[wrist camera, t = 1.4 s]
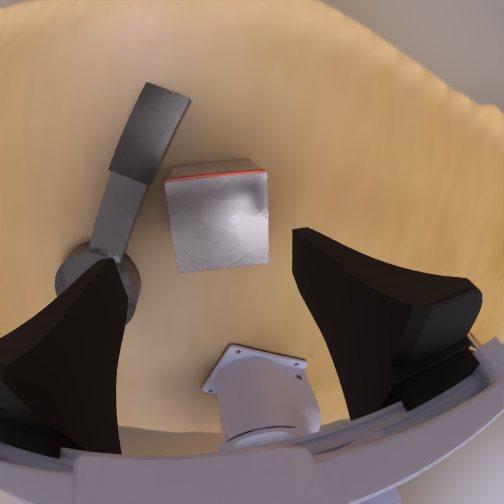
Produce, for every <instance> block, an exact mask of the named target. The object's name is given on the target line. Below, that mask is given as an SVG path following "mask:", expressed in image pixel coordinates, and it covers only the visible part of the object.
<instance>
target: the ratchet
mask: <svg viewBox="0 0 504 504" xmlns="http://www.w3.org/2000/svg"><path fill="white" fill-rule="evenodd" d="M190 103H191V100H190V99H189V98H187V97H184V96H182V95H179V94H177V93H174V92H172V91H169V90H167V89H164V88H161V87H159V86H156V85H153V84H151V83H148V82H146V84H145V86H144V88H143V90H142V92H141V94H140V96H139V98H138V100H137V102H136V104H135V106H134V109H133V111H132V113H131V115H130V117H129V120H128V122H127V124H126V126H125V129H124V131H123V133H122V136H121V138H120V141H119V143H118V146H117V148H116V151H115V153H114V156H113V159H112V162H111V164H110V167H109V170H110V171H112V172H111V175H110V178H109V181H108V183H107V186H106V190H105V193H104V196H103V199H102V202H101V206H100V209H99V212H98V216H97V219H96V223H95V227H94V231H93V234H92V238H91V242H86V243H84V244H81V245H79V246H78V247H76V248H75V249H74V250H73V251H72V253H71V254H70V255H69V256H68V258H67V259H66V260H65V261H64V263H63V264H62V265H61V266H60V268H59V270H58V271H57V274H56V278H55V290H56V294H57V297H58V296H59V295H60V294H61V293H62V292H63V291H65V290H66V289H67V288H68V287H69V286H70V285H71V284H72V283H73V282H74V281H75V280H76V279H77V278H79V277H80V276H81V275H82V274H83V273H84V272H85V271H86V270H87V269H88V268H90V267H91V266H92V265H93V264H94V263H96V262H97V261H99V260H100V259H105V258H111V257H113V258H114V261H115V264H116V266H117V269H118V272H119V275H120V277H121V280H122V282H123V285H124V288H125V290H126V293H127V295H128V310H127V319H126V324H127V323H128V322H129V321H130V320H131V318H132V317H133V315H134V312H135V308H136V305H137V301H138V297H139V294H140V289H141V280H140V275H139V272H138V270H137V268H136V266H135V264H134V263H133V261H132V260H131V259H130V258H129V257H128V256H127V255H126V254H125V251H126V248H127V245H128V242H129V239H130V236H131V233H132V230H133V227H134V224H135V222H136V219H137V216H138V213H139V211H140V208H141V205H142V202H143V200H144V197H145V195H146V192H147V190H148V187H149V186H150V185H151V184H152V182H153V181H154V180H155V177H156V175H157V172H158V170H159V168H160V165H161V163H162V161H163V159H164V156H165V154H166V152H167V150H168V148H169V145H170V143H171V141H172V139H173V137H174V135H175V133H176V131H177V129H178V127H179V125H180V122H181V120H182V118H183V117H184V115H185V113H186V111H187V109H188V107H189V105H190ZM126 324H125V325H126Z"/></svg>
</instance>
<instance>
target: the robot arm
mask: <svg viewBox="0 0 504 504" xmlns="http://www.w3.org/2000/svg"><path fill="white" fill-rule="evenodd" d="M292 273H293V276H294V279H295V281H296V284H297V287H298V289H299V292H300V294H301V296H302V298H303V299H304V301H305V303H306V305H307V307H308V309H309V311H310V312H311V314H312V316H313V318H314V320H315V322H316V324H317V325H318V327H319V329H320V331H321V333H322V335H323V337H324V339H325V342H326V344H327V347H328V349H329V352H330V355H331V357H332V360H333V363H334V366H335V369H336V372H337V375H338V377H339V380H340V384H341V387H342V390H343V394H344V397H345V400H346V404H347V408H348V412H349V415H350V419H351V421H350V422H347V423H344V424H341V425H339V426H335V427H332V428H329V429H326V430H322V431H319V428H320V424H321V413H320V408H319V405H318V403H317V400H316V398H315V395H314V393H313V390H312V388H311V386H310V383H309V381H308V378H307V376H306V373H305V371H304V369H305V368H306V367H307V365H308V363H307V361H305V360H300V359H295V358H290V357H286V356H281V355H276V354H272V353H267V352H263V351H258V350H254V349H250V348H246V347H242V346H238V345H230V346H229V347H228V348H227V350H226V352H225V353H224V355H223V356H222V358H221V359H220V361H219V362H218V364H217V365H216V367H215V368H214V370H213V371H212V373H211V374H210V376H209V377H208V379H207V381H206V382H205V384H204V385H203V387H202V391H203V392H207V393H212V394H217V398H218V406H219V415H220V422H221V430H222V437H223V443H222V444H219V450H220V452H213V453H202V454H188V455H160V456H159V455H158V456H149V455H147V456H146V455H122V453H121V447H120V441H119V434H118V424H117V410H116V378H117V366H118V359H119V354H120V349H121V344H122V339H123V334H124V329H125V324H126V319H127V310H128V295H127V293H126V290H125V288H124V285H123V282H122V280H121V277H120V275H119V272H118V269H117V266H116V264H115V261H114V258H113V257H111V258H105V259H100V260H99V261H97V262H96V263H94V264H93V265H92V266H91V267H90V268H88V269H87V270H86V271H85V272H84V273H83V274H82V275H81V276H80V277H79V278H77V279H76V280H75V281H74V282H73V283H72V284H71V285H70V286H69V287H68V288H67V289H66V290H65V291H63V292H62V293H61V294H60V295H59V296H58V297H57V298H56V299H55V300H54V301H52V302H51V303H50V304H49V305H48V306H46V307H45V308H44V309H43V310H42V311H40V312H39V313H38V314H36V315H35V316H34V317H32V318H31V319H30V320H28V321H27V322H25V323H24V324H22V325H21V326H19V327H18V328H17V329H15V330H13V331H12V332H10V333H9V334H7V335H5V336H3V337H2V338H0V491H2V492H4V493H6V494H8V495H10V496H12V497H14V498H16V499H18V500H21V501H23V502H25V503H27V504H403V503H402V500H401V498H400V496H399V493H398V491H397V488H396V487H397V486H399V485H401V484H403V483H405V482H407V481H408V480H410V479H412V478H414V477H416V476H417V475H419V474H421V473H422V472H424V471H426V470H428V469H429V468H431V467H433V466H434V465H436V464H437V463H439V462H440V461H442V460H443V459H445V458H446V457H448V456H449V455H451V454H452V453H454V452H455V451H456V450H458V449H459V448H461V447H462V446H463V445H465V444H466V443H467V442H469V441H470V440H471V439H472V438H474V437H475V436H476V435H477V434H479V433H480V432H481V431H482V430H483V429H485V428H486V427H487V426H488V425H489V424H491V423H492V422H493V421H494V420H495V419H496V418H497V417H498V416H499V415H500V414H502V413H503V412H504V346H503V345H502V343H501V342H500V341H499V340H498V339H497V337H494V338H493V339H491V340H490V341H488V342H487V343H485V344H484V345H482V346H481V347H480V348H478V349H477V350H476V351H475V352H474V353H473V354H472V352H471V351H470V350H469V347H470V346H471V341H470V340H469V339H468V337H467V335H468V333H469V331H470V329H471V327H472V325H473V324H474V322H475V320H476V318H477V316H478V314H479V311H480V309H481V306H482V293H481V291H480V290H479V289H478V288H477V287H476V286H475V285H474V284H473V283H472V282H471V281H470V280H468V279H467V278H460V277H450V276H440V275H434V274H429V273H423V272H418V271H414V270H410V269H406V268H402V267H399V266H395V265H392V264H389V263H386V262H383V261H380V260H377V259H375V258H372V257H369V256H367V255H365V254H362V253H360V252H358V251H356V250H353V249H351V248H349V247H347V246H345V245H343V244H341V243H339V242H337V241H335V240H333V239H331V238H329V237H327V236H325V235H323V234H321V233H319V232H317V231H315V230H313V229H310V228H308V227H306V228H299V229H292ZM237 350H239V351H237ZM318 431H319V432H318Z"/></svg>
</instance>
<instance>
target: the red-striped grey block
mask: <svg viewBox="0 0 504 504" xmlns="http://www.w3.org/2000/svg"><path fill="white" fill-rule="evenodd" d="M164 182H165V191H166V199H167V206H168V213H169V220H170V227H171V233H172V239H173V245H174V251H175V257H176V263H177V268H178V273H185V272H194V271H203V270H212V269H221V268H230V267H239V266H248V265H256V264H265V263H269V255H268V190H267V173H266V170H265V169H261V168H260V167H259V166H258V165H256V164H255V163H254V162H253V161H251V160H250V159H246V160H232V161H219V162H208V163H198V164H189V165H181V166H174V168H173V170H172V171H171V173H170V175H169V176H168V178H166V179H165V180H164Z"/></svg>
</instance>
